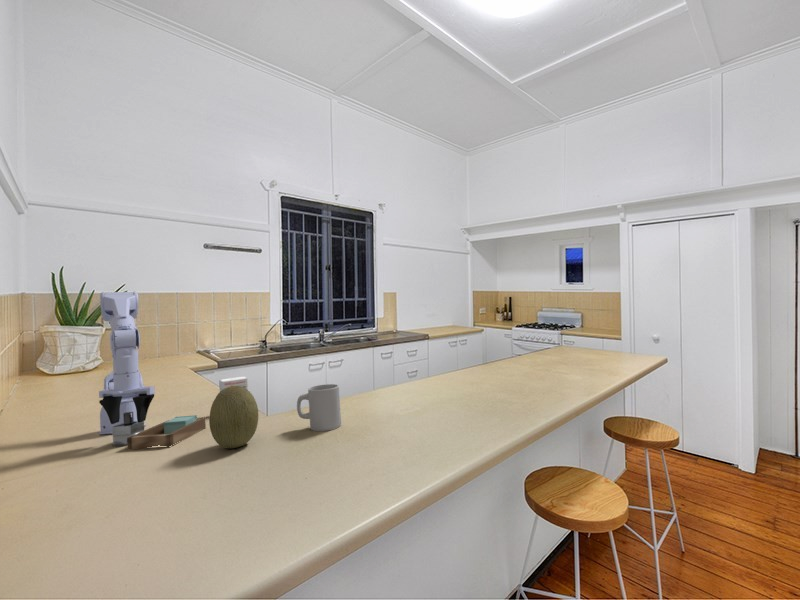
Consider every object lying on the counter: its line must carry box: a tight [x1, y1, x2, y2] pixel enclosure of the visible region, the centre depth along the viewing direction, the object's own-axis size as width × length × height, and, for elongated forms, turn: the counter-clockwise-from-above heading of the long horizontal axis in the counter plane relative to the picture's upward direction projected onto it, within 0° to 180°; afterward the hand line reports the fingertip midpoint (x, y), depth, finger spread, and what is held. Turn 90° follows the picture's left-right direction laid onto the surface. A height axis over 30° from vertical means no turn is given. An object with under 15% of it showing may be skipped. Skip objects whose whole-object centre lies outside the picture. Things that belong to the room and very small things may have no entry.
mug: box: [296, 383, 342, 432], centre depth 104 cm, size 12×8×11 cm
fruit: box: [208, 386, 259, 449], centre depth 92 cm, size 11×11×15 cm
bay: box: [127, 417, 207, 450], centre depth 103 cm, size 11×16×3 cm
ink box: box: [218, 375, 249, 392], centre depth 129 cm, size 8×5×12 cm, turn 124°
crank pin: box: [123, 412, 134, 426], centre depth 103 cm, size 2×2×6 cm
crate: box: [162, 415, 198, 434], centre depth 109 cm, size 6×6×4 cm
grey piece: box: [112, 421, 145, 448], centre depth 102 cm, size 7×7×5 cm
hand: (128, 422), depth 103 cm, fingers open, 7 cm apart
